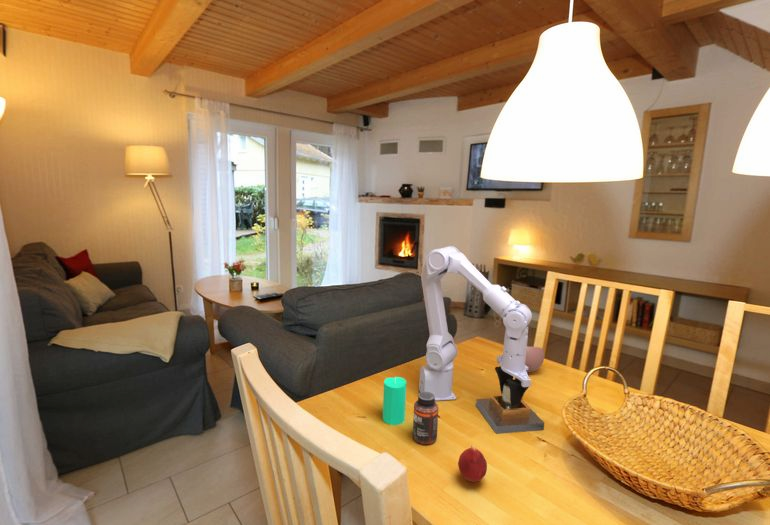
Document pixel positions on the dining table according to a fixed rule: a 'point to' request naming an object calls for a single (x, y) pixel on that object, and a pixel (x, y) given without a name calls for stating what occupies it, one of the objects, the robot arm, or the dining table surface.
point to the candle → (394, 400)
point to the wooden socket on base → (508, 416)
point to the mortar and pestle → (534, 358)
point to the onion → (472, 464)
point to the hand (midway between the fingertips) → (509, 398)
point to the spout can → (507, 398)
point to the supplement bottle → (425, 418)
